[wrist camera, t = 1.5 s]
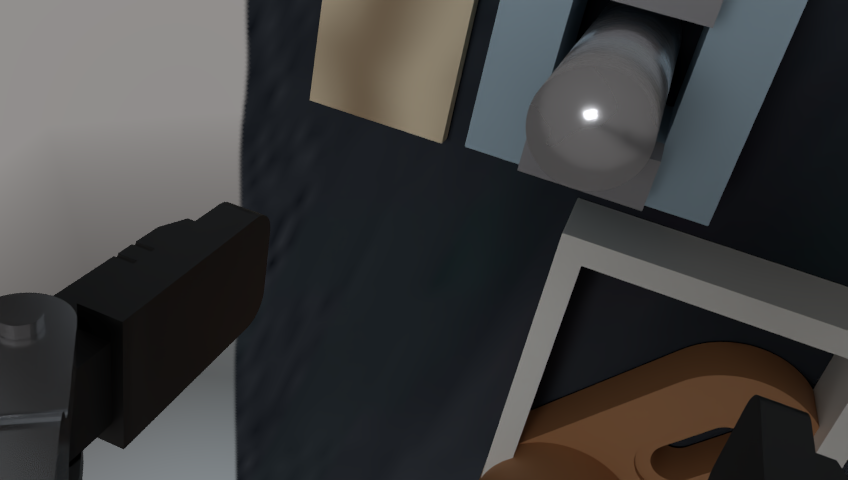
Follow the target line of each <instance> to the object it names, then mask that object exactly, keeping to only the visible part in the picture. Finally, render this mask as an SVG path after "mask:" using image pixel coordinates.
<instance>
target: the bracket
mask: <svg viewBox="0 0 848 480" xmlns="http://www.w3.org/2000/svg"><path fill="white" fill-rule="evenodd" d="M754 395H759V396H762V397H765V398H768V399H771V400H773V401H776V402H779V403H782V404H784V405H787V406H790V407H793V408H795V409H798V410H801V411H804V412H807V413H808V414H809V415H810V418H811V423H812V430H813V437H814V435H815V433H816V432H817V430H818V429H819V422H818V416H817V410H816V403H815V397H814V391H813V389H812V387H811V386H810V384H809V383H808V381H807V380H806V379H805V378H804V376H803V375H802V374H801V373H800V372H799V371H798V370H797V369H796V368H795V367H793V366H792V365H791V364H789V363H788V362H787V361H785V360H784V359H782V358H780V357H779V356H777V355H775V354H773V353H771V352H768V351H766V350H763V349H761V348H757V347H754V346H751V345H746V344H741V343H733V342H710V343H703V344H698V345H694V346H690V347H687V348H684V349H682V350H679V351H677V352H674V353H672V354H669V355H667V356H664V357H662V358H659V359H657V360H655V361H652V362H650V363H647V364H645V365H642V366H640V367H637V368H635V369H632V370H630V371H627V372H625V373H622V374H620V375H617V376H615V377H613V378H610V379H608V380H605V381H603V382H600V383H598V384H595V385H593V386H590V387H588V388H585V389H583V390H580V391H578V392H576V393H573V394H571V395H568V396H566V397H563V398H561V399H558V400H556V401H553V402H551V403H548V404H546V405H543V406H541V407H539V408H536V409H534V410H531V411H530V412H529V414H528V417H527V420H526V423H525V425H524V428H523V431H522V434H521V437H520V439H519V442H518V445H517V448H516V450H515V453H514V456H513V458H511V459H508V460H505V461H502V462H500V463H498V464H496V465H495V466H493V467H492V468H490V469H489V470H488V471H487V472H486V473H485V474H484V475H483V476H482V474H481V476H482V478H481V477H480V479H479V480H708V478H709V475H710V473H711V470H712V468H713V466H714V464H715V462H716V460H717V459H718V457H719V455H720V453H721V451H722V449H723V447H724V446H725V444H726V442H727V440H728V438H729V436H730V434H731V432H730V433H727V434H724V435H721V436H718V437H715V438H712V439H709V440H706V441H703V442H700V443H697V444H694V445H691V446H688V447H685V448H674V447H670V446H667V445H668V444H671V443H674V442H677V441H680V440H683V439H686V438H689V437H692V436H695V435H698V434H701V433H704V432H706V431H709V430H712V429H715V428H720V427H729V428H734V427H735V425H736V423H737V421H738V419H739V418H740V416H741V414H742V412H743V410H744V408H745V406H746V405H747V403H748V401H749V400H750V399H751V398H752V397H753V396H754ZM484 467H485V466H484ZM483 470H484V469H483ZM482 473H483V471H482Z"/></svg>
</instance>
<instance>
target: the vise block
mask: <svg viewBox="0 0 848 480" xmlns="http://www.w3.org/2000/svg"><path fill="white" fill-rule="evenodd" d="M612 1H616V2H620V3H623V4H627V5H630V6H634V7H638V8H641V9H645V10H649V11H652V12H656V13H660V14H663V15H667V16H670V17H674V18H678V19H681V20H685V21H689V22H692V23H696V24H700V25H703V26H704V28H703V30H702V33H701V36H700V38H699V41H698V43H697V46H696V49H695V51H694V54H693V57H692V59H691V62H690V64H689V67H688V70H687V72H686V75H685V78H684V80H683V83H682V85H681V88H680V91H679V93H678V96H677V99H676V101H675V104H674V106H673V107H672V106H668V105H665V108H664V112H663V116H662V120H661V124H660V127H659V131H658V135H657V139H656V143H655V146H654V150H653V152H652V154H651V156H650V159H649V160H648V162H647V163H646V165H645V166H644V167H643V168H642V170H641V171H640V172H639V173H638V174H637V175H635V176H634V177H633V178H632V179H630V180H629V181H627V182H626V183H624V184H622V185H620V186H617V187H614V188H612V189H607V190H602V191H583V190H579V191H582V192H585V193H588V194H591V195H594V196H597V197H600V198H603V199H606V200H609V201H612V202H615V203H618V204H621V205H624V206H627V207H631V208H634V209H637V210H640V211H642V210H643V207H644V205H645V206H648V207H651V208H654V209H657V210H660V211H663V212H666V213H669V214H672V215H675V216H678V217H682V218H685V219H688V220H691V221H694V222H697V223H700V224H703V225H706V226H708V225H709V223H710V221H711V219H712V216H713V214H714V212H715V210H716V207H717V205H718V203H719V200H720V198H721V196H722V194H723V191H724V189H725V187H726V185H727V182H728V180H729V178H730V176H731V173H732V171H733V169H734V166H735V164H736V162H737V160H738V157H739V155H740V153H741V151H742V148H743V146H744V144H745V142H746V139H747V137H748V135H749V132H750V130H751V128H752V126H753V123H754V121H755V119H756V117H757V114H758V112H759V110H760V108H761V105H762V103H763V101H764V98H765V96H766V94H767V92H768V89H769V87H770V85H771V83H772V80H773V78H774V76H775V74H776V71H777V69H778V67H779V64H780V62H781V60H782V58H783V55H784V53H785V51H786V49H787V46H788V44H789V42H790V40H791V37H792V35H793V33H794V30H795V28H796V26H797V24H798V21H799V19H800V17H801V15H802V12H803V10H804V8H805V6H806V3H807V1H808V0H612ZM587 2H588V0H500V3H499V7H498V11H497V16H496V20H495V24H494V28H493V32H492V36H491V40H490V44H489V49H488V53H487V57H486V61H485V65H484V69H483V73H482V78H481V82H480V86H479V90H478V94H477V98H476V102H475V106H474V111H473V115H472V119H471V123H470V127H469V131H468V135H467V139H466V144H465V147H467V148H471V149H474V150H477V151H480V152H483V153H486V154H489V155H492V156H495V157H498V158H501V159H504V160H507V161H510V162H513V163H516V164H519V166H518V169H517V170H518V171H521V172H524V173H527V174H530V175H533V176H536V177H539V178H542V179H545V180H548V181H551V182H554V183H558V184H561V183H559V182H557V181H555V180H554V179H553V178H551V177H550V176H548V175H547V174H546V173H545V172H544V171H543V170H542V169H541V167H540V166H539V165H538V164H537V162H536V161H535V159H534V158H533V156H532V154H531V152H530V149H529V146H528V143H527V138H526V128H525V127H526V117H527V112H528V109H529V106H530V104H531V102H532V100H533V98H534V96H535V95H536V93H537V92H538V90H539V89H540V88H541V87H542V85H543V84H544V83H545V82H546V80H547V79H548V78H549V77H550V75H551V74H552V73H553V72H554V70H555V69H556V68H557V67H558V66H559V64H560V63H561V62H562V61H563V59H564V58H565V57H566V56H567V54H568V53H569V52H570V51H571V49H572V48H573V47H574V45H575V42H576V39H577V35H578V32H579V29H580V25H581V22H582V19H583V15H584V12H585V9H586V5H587ZM561 185H563V184H561ZM564 186H565V185H564ZM576 190H577V189H576Z"/></svg>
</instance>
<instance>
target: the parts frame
mask: <svg viewBox="0 0 848 480" xmlns="http://www.w3.org/2000/svg"><path fill="white" fill-rule="evenodd" d="M581 266H583V267H586V268H589V269H592V270H595V271H598V272H600V273H603V274H606V275H609V276H612V277H615V278H618V279H621V280H623V281H626V282H629V283H632V284H635V285H638V286H641V287H643V288H646V289H649V290H652V291H655V292H658V293H661V294H664V295H666V296H669V297H672V298H675V299H678V300H681V301H684V302H686V303H689V304H692V305H695V306H698V307H701V308H704V309H707V310H709V311H712V312H715V313H718V314H721V315H724V316H727V317H729V318H732V319H735V320H738V321H741V322H744V323H747V324H750V325H752V326H755V327H758V328H761V329H764V330H767V331H770V332H772V333H775V334H778V335H781V336H784V337H787V338H790V339H793V340H795V341H798V342H801V343H804V344H807V345H810V346H813V347H815V348H818V349H821V350H824V351H827V352H830V353H833V354H834V355H833V357H832V359H831V360H830V362H829V364H828V366H827V367H826V369H825V371H824V372H823V374H822V376H821V377H820V379H819V381H818V382H817V384H816V386H815V387H814V389H813V391H814V397H815V403H816V410H817V416H818V422H819V429H818V430H817V432H816V433H815V435H814V444H815V451H816V453H818V454H821V455H824V456H826V457H829V458H832V459H834V460H837V461H838V463H839V465H840V466H841V468H842V467H843V466H844V464H845V463H846V461H847V460H848V287H846V286H843V285H840V284H837V283H834V282H831V281H828V280H825V279H822V278H819V277H816V276H813V275H810V274H807V273H804V272H801V271H798V270H795V269H792V268H789V267H786V266H783V265H780V264H777V263H774V262H771V261H768V260H765V259H762V258H759V257H756V256H753V255H750V254H747V253H744V252H741V251H738V250H735V249H732V248H729V247H726V246H723V245H719V244H716V243H713V242H710V241H707V240H704V239H701V238H698V237H695V236H692V235H689V234H686V233H683V232H680V231H677V230H674V229H671V228H668V227H665V226H662V225H659V224H656V223H653V222H650V221H647V220H644V219H641V218H638V217H635V216H632V215H629V214H626V213H623V212H620V211H617V210H614V209H611V208H608V207H605V206H602V205H599V204H596V203H593V202H589V201H586V200H583V199H580V198H578V199H577V201H576V203H575V205H574V208H573V210H572V212H571V214H570V217H569V219H568V221H567V224H566V226H565V228H564V230H563V233H562V235H561V238H560V241H559V244H558V247H557V250H556V253H555V256H554V260H553V263H552V266H551V269H550V272H549V275H548V278H547V281H546V284H545V287H544V290H543V293H542V296H541V299H540V302H539V305H538V308H537V311H536V314H535V317H534V320H533V323H532V326H531V329H530V332H529V335H528V338H527V341H526V344H525V347H524V350H523V353H522V356H521V359H520V362H519V365H518V368H517V371H516V374H515V377H514V380H513V383H512V386H511V389H510V392H509V395H508V398H507V401H506V404H505V407H504V410H503V413H502V416H501V419H500V422H499V425H498V428H497V431H496V434H495V437H494V440H493V443H492V446H491V449H490V452H489V455H488V458H487V461H486V464H485V467H484V470H483V473H482V476H483V475H484V474H485V473H486V472H487V471H488V470H489V469H490V468H492V467H493V466H495V465H496V464H498V463H500V462H502V461H505V460H508V459H511V458H513V456H514V453H515V450H516V448H517V445H518V442H519V439H520V437H521V434H522V431H523V428H524V425H525V423H526V420H527V417H528V414H529V412H530V409H531V406H532V403H533V400H534V398H535V395H536V392H537V389H538V386H539V383H540V381H541V378H542V375H543V372H544V369H545V367H546V364H547V361H548V358H549V355H550V353H551V350H552V347H553V344H554V341H555V338H556V336H557V333H558V330H559V327H560V324H561V322H562V319H563V316H564V313H565V310H566V308H567V305H568V302H569V299H570V296H571V294H572V291H573V288H574V285H575V282H576V279H577V277H578V274H579V271H580V268H581ZM482 476H481V478H482Z"/></svg>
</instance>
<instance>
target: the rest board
mask: <svg viewBox="0 0 848 480" xmlns="http://www.w3.org/2000/svg"><path fill="white" fill-rule="evenodd" d="M477 5H478V0H322V7H321V15H320V23H319V31H318V39H317V47H316V54H315V62H314V70H313V78H312V86H311V94H310V100H311V101H314V102H317V103H320V104H323V105H326V106H329V107H332V108H335V109H338V110H341V111H344V112H347V113H350V114H353V115H356V116H359V117H362V118H365V119H369V120H372V121H375V122H378V123H381V124H384V125H387V126H390V127H393V128H396V129H399V130H402V131H405V132H408V133H411V134H414V135H417V136H420V137H423V138H426V139H429V140H432V141H436V142H439V143H443V142H444V141H445V140H446V139H447V136H448V132H449V127H450V123H451V118H452V114H453V110H454V105H455V101H456V97H457V92H458V88H459V83H460V79H461V75H462V70H463V66H464V61H465V57H466V53H467V48H468V44H469V40H470V35H471V31H472V26H473V22H474V18H475V13H476V9H477Z"/></svg>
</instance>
